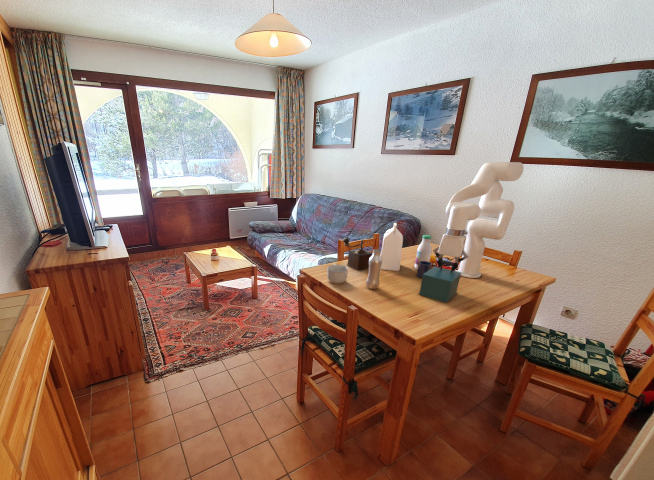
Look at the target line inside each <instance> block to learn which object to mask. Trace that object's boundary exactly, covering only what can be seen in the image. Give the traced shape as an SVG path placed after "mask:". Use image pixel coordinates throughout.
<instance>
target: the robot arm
mask: <svg viewBox="0 0 654 480" xmlns="http://www.w3.org/2000/svg"><path fill="white" fill-rule="evenodd" d="M523 173H524V164H523V163H522V162H520V161H517V162H516V161H488V162H485V163H484V164H483V165H481V167H480V168H479V170H478V172H477V173H476V175H475V177H474V179H473V180H472V182H471V184H468V185H467V186H465V187H463V188H461V189H460V190H458V191H456V192H455V193H454V194H453V195H452V196H451V198H450V200H449V202H448V203H447V205H446V208H445V215H446V216H447V217H448V219H447V225H446V230H445V232H444V233H443V235H442V238H441V240H440V244H439V246H437V247H435V248H434V249H432V252H433V253H434V254H435V256H436V258H437V264H436V265H437V267H441V261H442V260H444V258H443V257H444V256H447V257H453V258H454V260H455V262H453V263H454V266H453V271H457V272H462V274H461V276H460V277H464V278H469V279H478V278H481V276H482V273H481V272H480V269H482V265H481V263H482V260H483V256H484V253H485V249H486V241H485V240H484V239H488V240H489V239H490V240H495V241H496V240H497V241H498V240H502V239H503V238H504V237H505V235H506V233H507V230H508V227H509V225H510V222H511V219H512V216H513V214H514V210H515V202H513V201H512V200H509V199H501V197H502V195H503V192H504V188H503V186H502V184H501V182H515V181H517V180H519V179H520V178H521V177H522V175H523ZM478 197H480V199H479V203H478V204H476V203H471V202H470V203H469V202H464V201H466V200H470V199H474V198H478ZM480 216H481V217H485V218H480ZM488 218H491V219H488ZM494 219H498V220H494ZM468 221H469V222H468ZM456 269H458V270H456Z"/></svg>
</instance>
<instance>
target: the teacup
mask: <svg viewBox="0 0 654 480" xmlns="http://www.w3.org/2000/svg"><path fill="white" fill-rule="evenodd" d="M348 270H349V266H347V265H343V264H338V263H333V264H331V265H328V266H327V268H326V271H327V273H326V274H327V280H328V281H330V282H331V283H333V284H343V283H344V282H345V281H347V279H348V274H349V273H348V272H349V271H348Z"/></svg>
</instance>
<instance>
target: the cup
mask: <svg viewBox="0 0 654 480" xmlns="http://www.w3.org/2000/svg"><path fill="white" fill-rule="evenodd" d="M431 268H433V263H432V262H431V261H430V262H427V261H420V262H419V265H418V269H416V277H417V278H419V279H422V278H423V274H424V273H426V272H427V271H429V270H430V269H431Z"/></svg>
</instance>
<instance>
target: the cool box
mask: <svg viewBox="0 0 654 480" xmlns="http://www.w3.org/2000/svg"><path fill="white" fill-rule="evenodd" d="M461 277H462V276H461V275H460V276H459V277H457V278H456V279H455V280H454V281H453V282H452V283H449V282H445V281H441V280H437V279H433V278H429V277H425V276H423V278H421V283H420V288H419V296H422V297H426V298H429V299H433V300H436V301H440V302H443V303H446V304H447V303H449V301H450V300H451V299H452V298H453V297H454V296H455V295H456V294H457V291H458V288H459V284H460V279H461Z"/></svg>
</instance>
